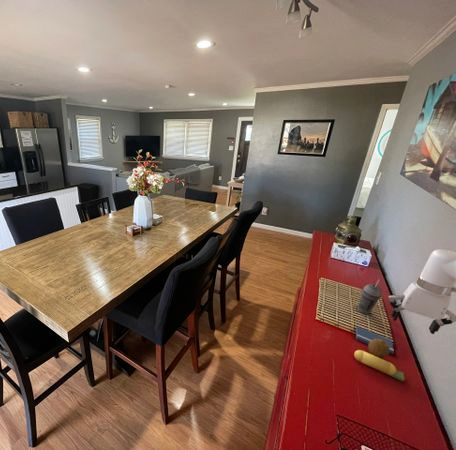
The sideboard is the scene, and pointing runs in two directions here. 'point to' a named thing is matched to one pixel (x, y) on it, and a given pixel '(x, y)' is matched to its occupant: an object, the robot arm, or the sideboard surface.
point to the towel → (371, 338)
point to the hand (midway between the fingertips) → (411, 324)
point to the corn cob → (378, 364)
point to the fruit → (378, 348)
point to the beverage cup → (369, 297)
